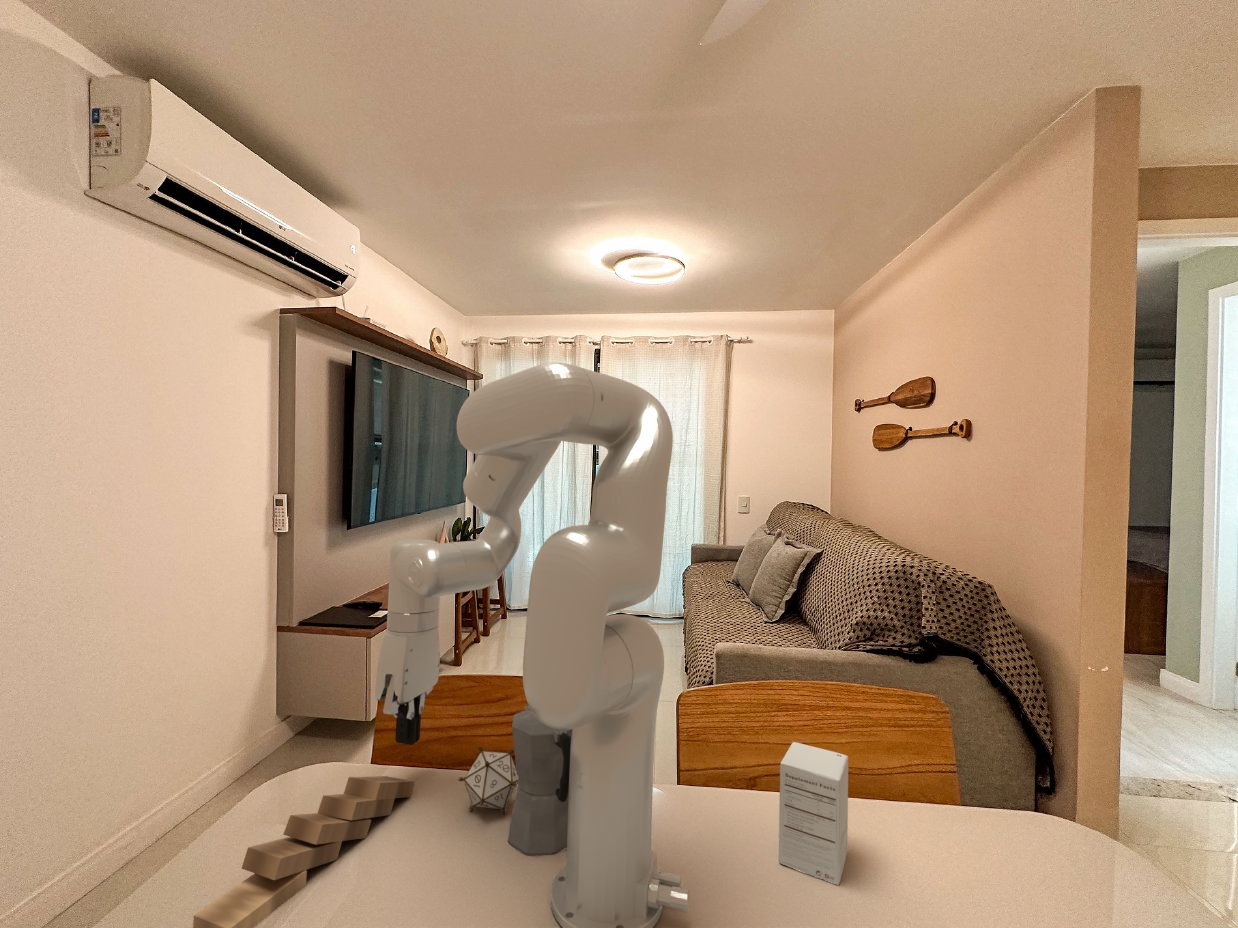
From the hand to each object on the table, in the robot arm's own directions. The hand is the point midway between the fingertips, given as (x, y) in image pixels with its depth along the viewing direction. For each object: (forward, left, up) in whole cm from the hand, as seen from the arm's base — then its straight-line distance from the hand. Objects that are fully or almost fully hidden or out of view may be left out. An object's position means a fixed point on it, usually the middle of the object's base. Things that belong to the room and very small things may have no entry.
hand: (407, 741), depth 85 cm
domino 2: (0, +16, -6) cm, 17 cm away
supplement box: (-59, -2, -7) cm, 60 cm away
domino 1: (0, +21, -6) cm, 22 cm away
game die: (-15, +1, -7) cm, 17 cm away
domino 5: (0, +2, -6) cm, 6 cm away
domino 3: (-1, +12, -6) cm, 13 cm away
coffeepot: (-25, +5, -7) cm, 26 cm away
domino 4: (0, +7, -6) cm, 9 cm away
